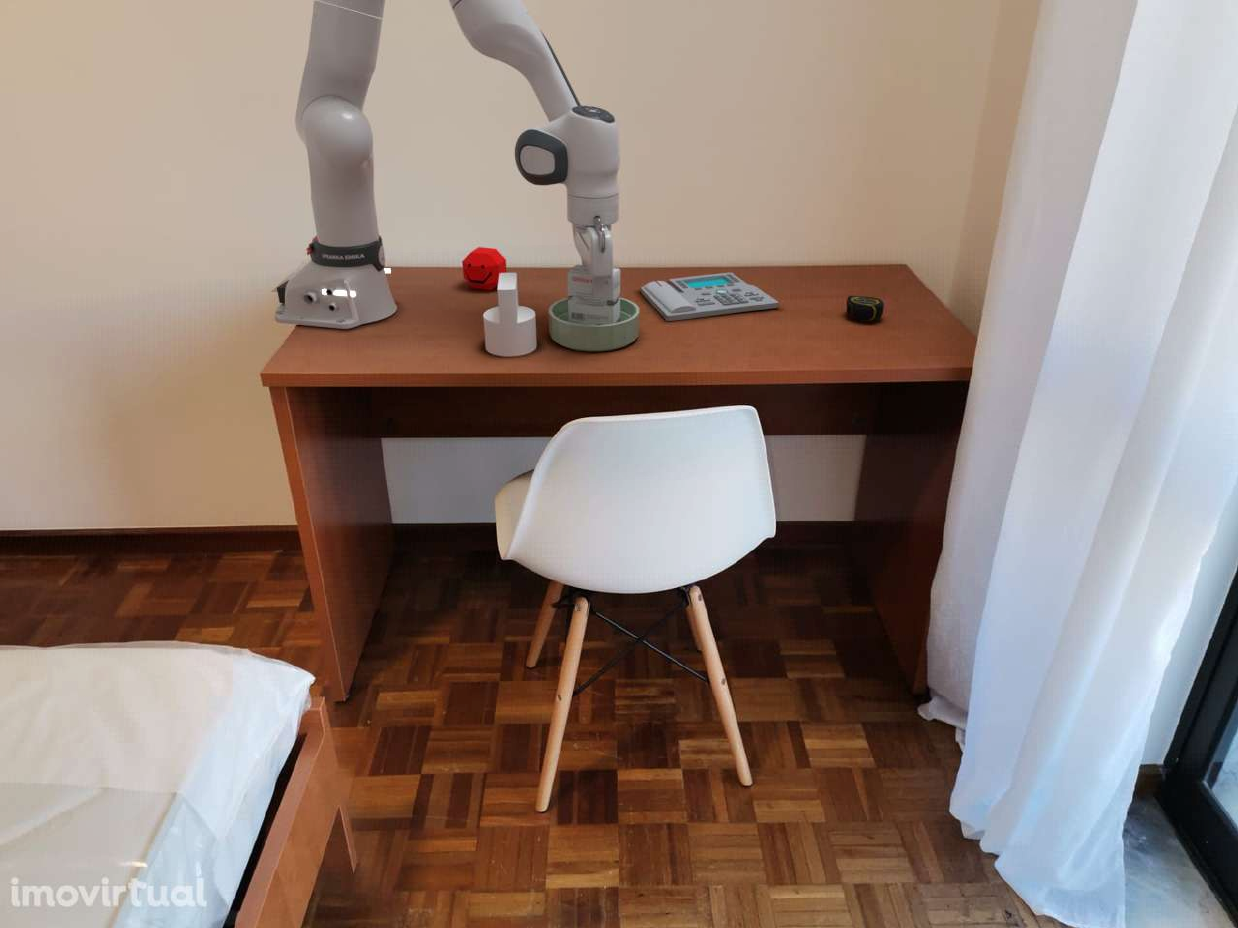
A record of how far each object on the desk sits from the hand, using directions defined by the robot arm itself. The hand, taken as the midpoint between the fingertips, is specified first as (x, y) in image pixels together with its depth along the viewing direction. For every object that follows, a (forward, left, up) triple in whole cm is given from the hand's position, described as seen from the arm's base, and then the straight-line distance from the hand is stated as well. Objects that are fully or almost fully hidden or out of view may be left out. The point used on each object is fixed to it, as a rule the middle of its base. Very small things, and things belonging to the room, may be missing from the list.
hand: (592, 288), depth 160 cm
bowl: (0, 0, -9) cm, 9 cm away
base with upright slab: (-14, -6, -9) cm, 18 cm away
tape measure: (+51, +12, -9) cm, 53 cm away
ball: (-24, +26, -9) cm, 37 cm away
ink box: (0, 0, -9) cm, 9 cm away
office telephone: (+21, +21, -9) cm, 31 cm away
